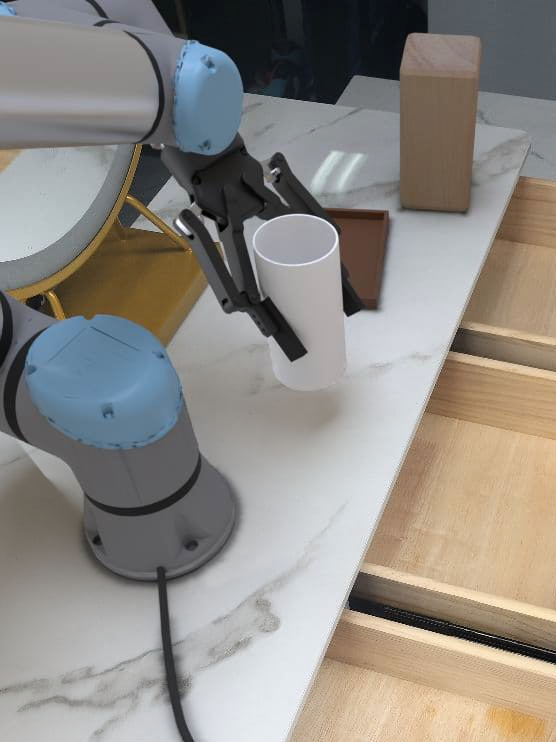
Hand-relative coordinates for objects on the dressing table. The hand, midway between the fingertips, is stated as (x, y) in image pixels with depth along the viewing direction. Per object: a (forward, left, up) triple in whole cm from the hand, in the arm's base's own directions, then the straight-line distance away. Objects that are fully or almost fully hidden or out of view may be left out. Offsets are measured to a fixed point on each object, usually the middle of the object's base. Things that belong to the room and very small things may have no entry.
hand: (328, 334), depth 85 cm
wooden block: (+46, -9, -13) cm, 49 cm away
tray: (+29, +5, -13) cm, 32 cm away
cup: (+2, +3, -6) cm, 7 cm away
